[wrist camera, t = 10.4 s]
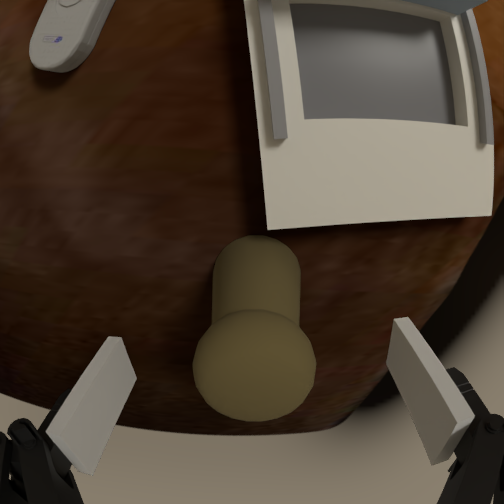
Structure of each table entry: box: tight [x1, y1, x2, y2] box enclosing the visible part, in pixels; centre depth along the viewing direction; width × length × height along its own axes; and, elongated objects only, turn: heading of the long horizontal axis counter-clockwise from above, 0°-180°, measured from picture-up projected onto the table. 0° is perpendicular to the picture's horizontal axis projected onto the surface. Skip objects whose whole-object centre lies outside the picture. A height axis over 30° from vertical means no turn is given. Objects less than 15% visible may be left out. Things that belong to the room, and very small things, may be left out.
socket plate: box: [244, 0, 494, 230], centre depth 13 cm, size 26×16×3 cm, turn 6°
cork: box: [192, 235, 316, 421], centre depth 16 cm, size 6×6×11 cm
